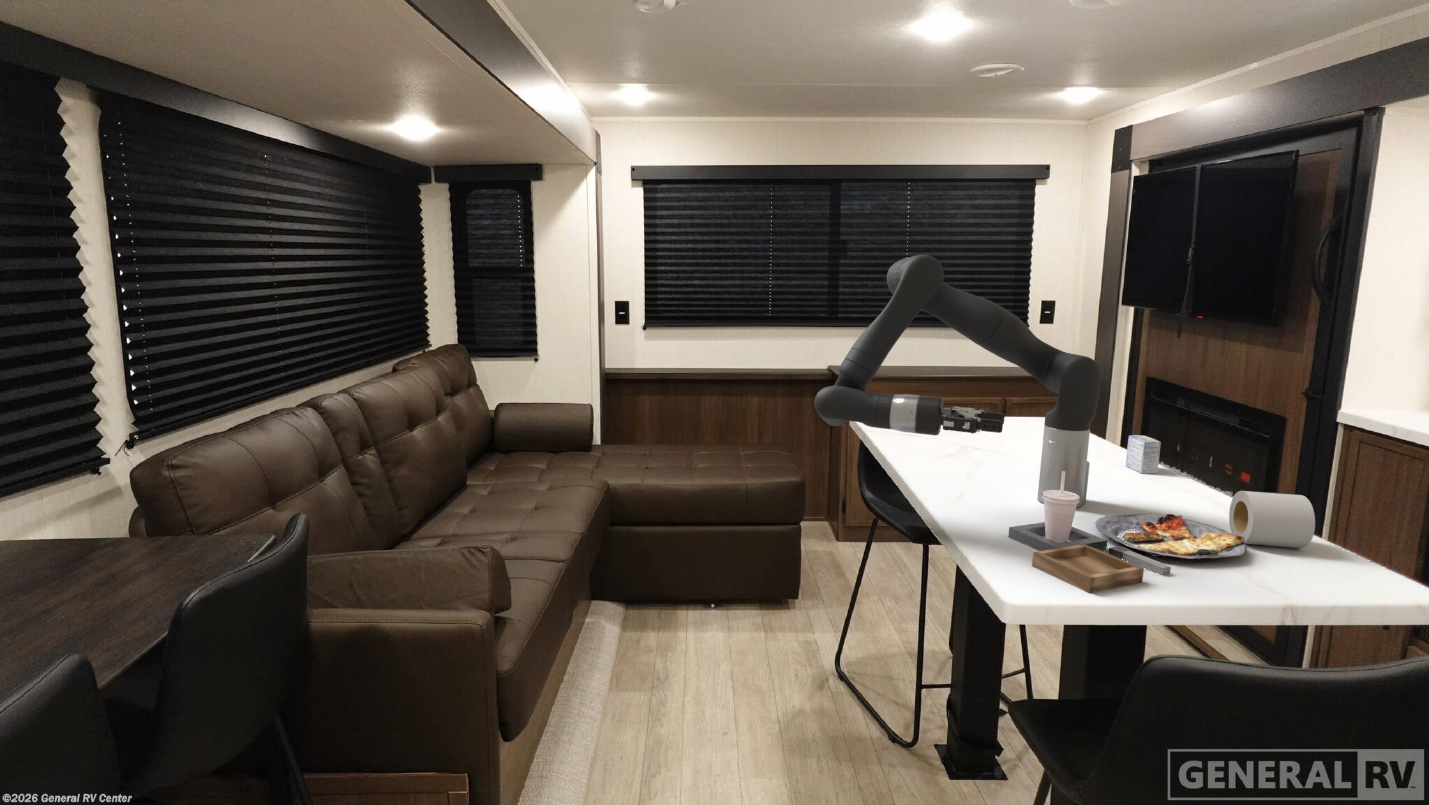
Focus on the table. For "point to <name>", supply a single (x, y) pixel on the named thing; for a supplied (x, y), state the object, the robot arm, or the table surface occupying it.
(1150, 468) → the medicine box
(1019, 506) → the table surface
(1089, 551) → the tray
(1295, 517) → the toilet paper
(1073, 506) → the smoothie
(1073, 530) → the socket
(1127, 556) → the bar
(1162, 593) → the table surface
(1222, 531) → the food plate
